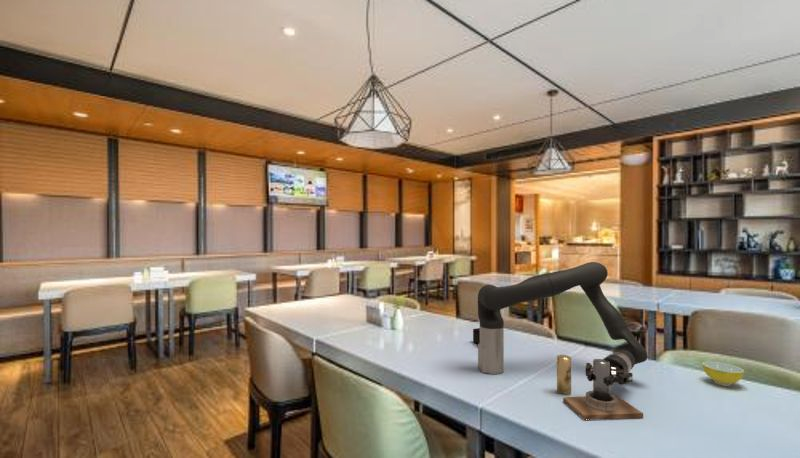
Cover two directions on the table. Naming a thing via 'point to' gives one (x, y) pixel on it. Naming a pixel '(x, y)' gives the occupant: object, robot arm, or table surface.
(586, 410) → the socket board
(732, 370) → the bowl
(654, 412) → the table surface
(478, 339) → the digital camera
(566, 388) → the brass peg
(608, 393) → the steel peg
